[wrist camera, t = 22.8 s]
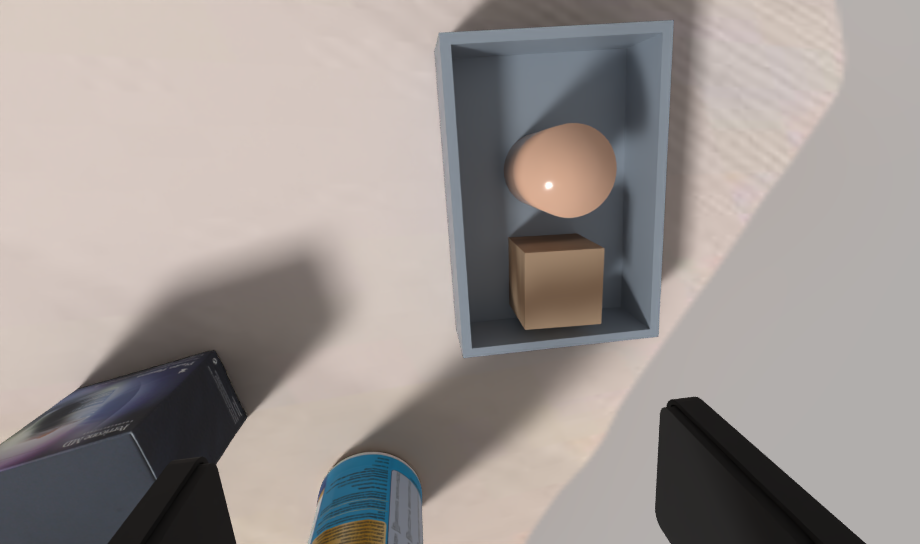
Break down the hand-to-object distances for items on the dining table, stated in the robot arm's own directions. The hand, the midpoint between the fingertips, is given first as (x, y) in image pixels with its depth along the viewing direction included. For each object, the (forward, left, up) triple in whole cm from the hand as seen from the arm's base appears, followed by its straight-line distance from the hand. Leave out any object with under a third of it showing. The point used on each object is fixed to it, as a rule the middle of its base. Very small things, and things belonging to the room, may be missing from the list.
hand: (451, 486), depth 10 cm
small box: (+10, -20, -25) cm, 33 cm away
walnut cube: (+2, +9, -24) cm, 25 cm away
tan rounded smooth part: (-5, +8, -24) cm, 26 cm away
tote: (-3, +9, -24) cm, 26 cm away
